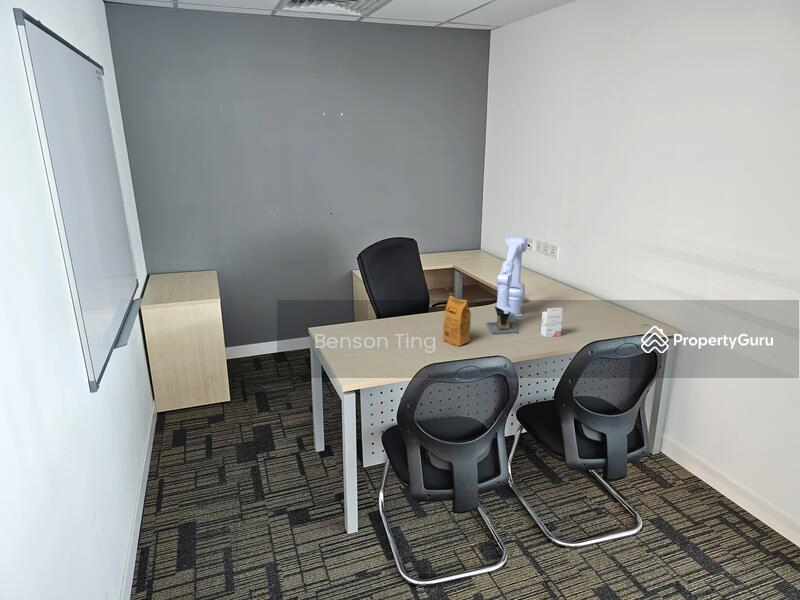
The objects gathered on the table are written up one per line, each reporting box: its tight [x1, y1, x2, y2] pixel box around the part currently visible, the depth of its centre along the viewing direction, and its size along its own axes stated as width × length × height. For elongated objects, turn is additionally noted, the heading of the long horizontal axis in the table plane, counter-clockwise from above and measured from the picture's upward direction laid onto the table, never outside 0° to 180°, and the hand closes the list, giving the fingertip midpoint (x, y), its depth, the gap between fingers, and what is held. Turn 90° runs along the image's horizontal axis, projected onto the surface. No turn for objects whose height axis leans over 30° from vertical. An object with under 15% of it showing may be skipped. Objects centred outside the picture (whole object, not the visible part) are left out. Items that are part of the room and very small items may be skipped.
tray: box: [485, 321, 519, 335], centre depth 266 cm, size 13×13×2 cm
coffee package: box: [442, 295, 472, 347], centre depth 247 cm, size 10×12×22 cm
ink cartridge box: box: [540, 307, 564, 338], centre depth 256 cm, size 9×5×15 cm, turn 101°
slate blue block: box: [508, 312, 516, 323], centre depth 277 cm, size 4×4×4 cm
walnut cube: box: [496, 315, 510, 329], centre depth 265 cm, size 5×5×5 cm
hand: (501, 322), depth 265 cm, fingers closed on walnut cube, 5 cm apart
